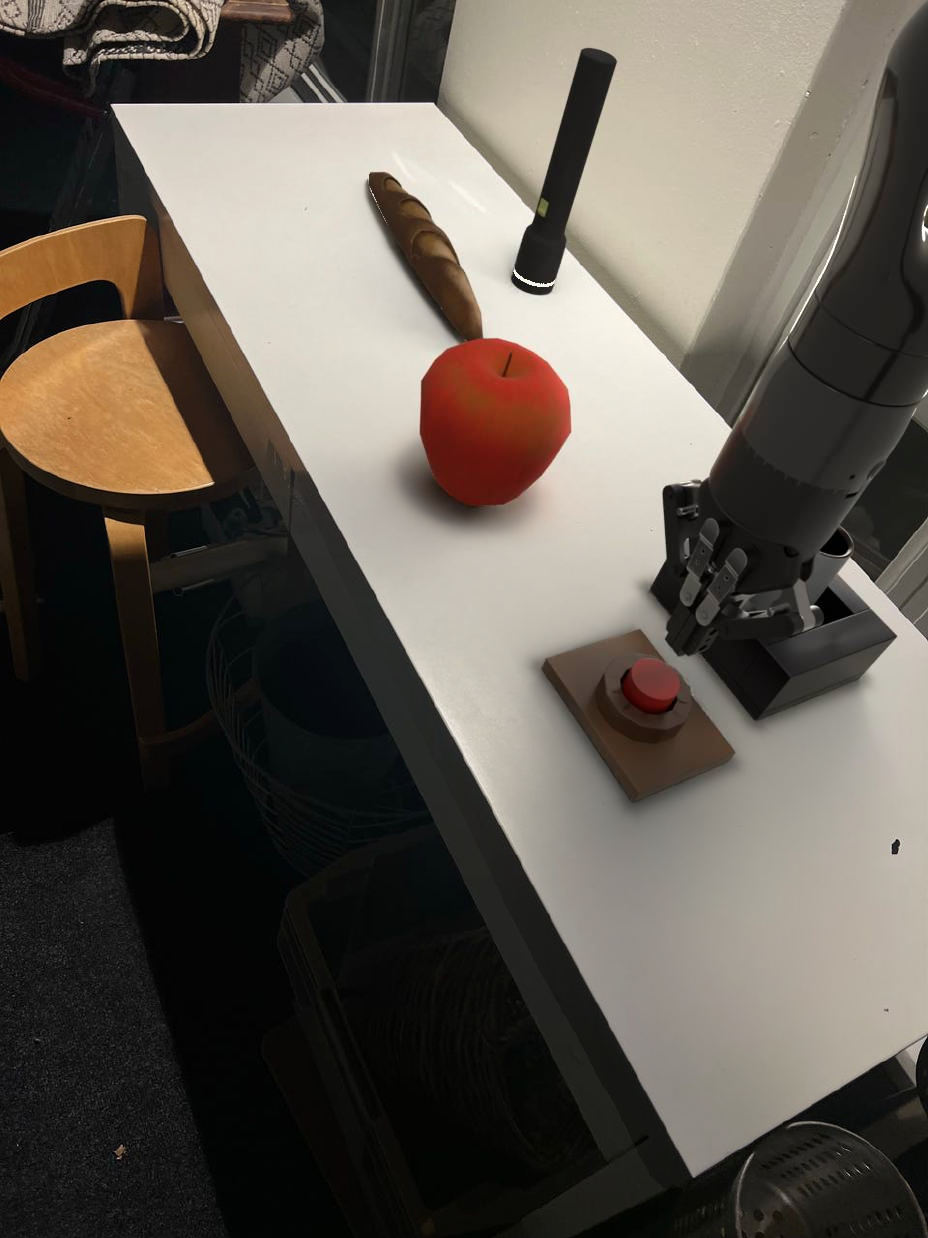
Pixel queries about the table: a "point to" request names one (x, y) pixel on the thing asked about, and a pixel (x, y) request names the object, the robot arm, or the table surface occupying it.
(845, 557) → the dark grey hollow cylinder
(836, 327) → the robot arm
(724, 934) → the table surface
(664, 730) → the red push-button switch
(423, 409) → the apple
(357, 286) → the table surface
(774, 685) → the open-top black bin
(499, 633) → the table surface
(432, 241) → the bread
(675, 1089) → the table surface
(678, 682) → the button
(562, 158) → the flashlight
